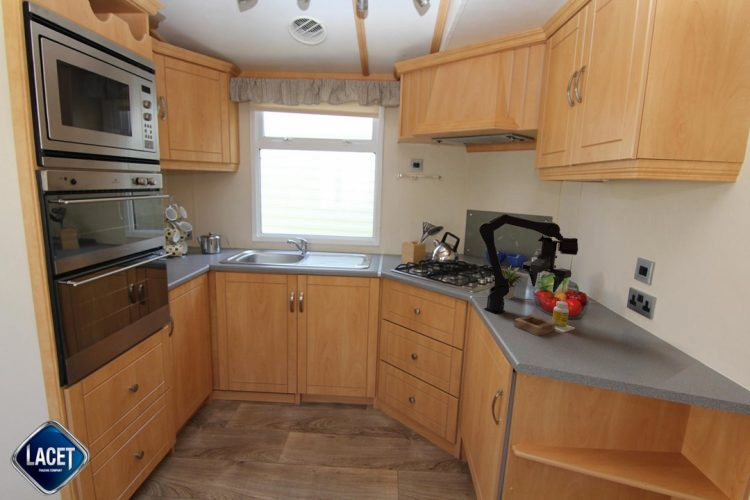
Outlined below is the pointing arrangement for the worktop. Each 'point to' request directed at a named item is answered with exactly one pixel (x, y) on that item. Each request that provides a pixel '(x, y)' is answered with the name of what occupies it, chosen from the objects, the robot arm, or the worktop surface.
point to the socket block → (534, 325)
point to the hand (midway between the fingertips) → (543, 289)
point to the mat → (564, 329)
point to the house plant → (511, 281)
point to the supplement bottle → (560, 314)
